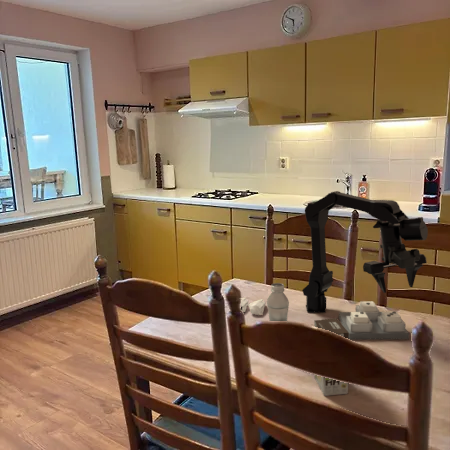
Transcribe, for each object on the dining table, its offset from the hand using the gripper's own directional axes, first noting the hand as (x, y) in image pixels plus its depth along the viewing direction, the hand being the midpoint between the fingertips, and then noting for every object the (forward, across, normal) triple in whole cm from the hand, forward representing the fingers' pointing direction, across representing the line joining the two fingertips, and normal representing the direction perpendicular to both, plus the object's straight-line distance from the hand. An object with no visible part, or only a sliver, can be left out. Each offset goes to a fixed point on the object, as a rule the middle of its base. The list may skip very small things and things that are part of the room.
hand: (397, 289), depth 136 cm
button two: (+9, -13, +3) cm, 16 cm away
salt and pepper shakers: (+6, -41, +32) cm, 52 cm away
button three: (+10, -3, +1) cm, 11 cm away
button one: (+9, -6, +11) cm, 15 cm away
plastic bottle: (+10, -41, 0) cm, 42 cm away
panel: (+13, -7, +6) cm, 16 cm away
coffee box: (+14, -34, -22) cm, 43 cm away
